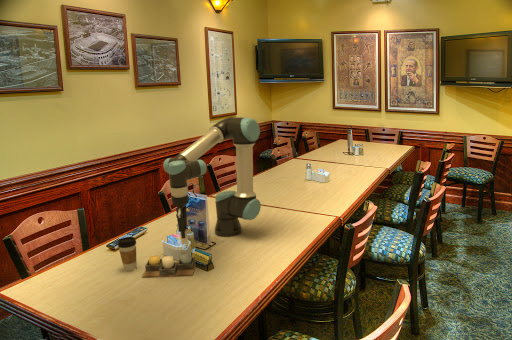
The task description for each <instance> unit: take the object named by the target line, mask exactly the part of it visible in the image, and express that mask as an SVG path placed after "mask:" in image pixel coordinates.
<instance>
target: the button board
mask: <svg viewBox="0 0 512 340" xmlns="http://www.w3.org/2000/svg"><path fill="white" fill-rule="evenodd" d="M191 259H192V264H181V257H180V258H179V260H178V262H174V267H172V268H170V269H165V268H163V263H162V258H160V265H149V259H147V262H146V264H145V265H144V268H145V269H144V270H145V271H144V272H143V274H142V276H141V278H142V279H150V278H152V279H153V278H173V277H174V278H176V277H193V275H194V273H195V270H196V267H197V264H195V262H196V257H195V256H194V257H192V256H191Z"/></svg>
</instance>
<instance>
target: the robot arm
mask: <svg viewBox="0 0 512 340" xmlns="http://www.w3.org/2000/svg"><path fill="white" fill-rule="evenodd" d="M260 135H261V128H260V125H259V123H258V122H257V120H256V119H254V118H250V117H241V116H240V117H236V116H229V117H225V118H223V119H220V120H219V121H218V122H216V123H215V124H213V125H212V126H211V127H210V128H209V129H208V131H207V132H206V133H205V134H203V135H202V136H201V137H200V138H198V139H197V140H195V141H194V142H193V143H192V144H191V145H189V146H187V148H185V149H184V150H183V151H181V152H180V153H179V154H177V155H176V156H175V157H169V158H166V159H165V160H164V161H163V166H162V167H163V170H164V171H165V173H167V174H168V178H169V185H170V188H169V191H170V192H171V193H170V194H171V204H172V205H173V206H176V209H175V212H176V214H175V217H176V219H177V220H176V221H177V226H178V230H177V231H178V233H180V234H179V235H180V243H181V245H188V242H189V240H188V230H189V227H188V221H187V219H188V217H187V215H188V214H187V205H188V204H189V202H190V201H189V200H190V199H189V195H188V194H189V188H188V181H189V180H191V179H194V178H197V177H198V178H199V177H201V176H203V175H206V173H207V164H206V161H204V160H202V159H199V158H201V157H202V156H203V155H205V153H207V152H208V151H209V150H211V149H212V148H213V147H214V146H215V145H217V144H218V143H219V144H220V143H221V144H222V142H224V141H226V140H232V145H233V146H234V147H235V153H236V155H235V156H236V157H235V159H236V162H235V163H236V191H235V190H225V191H222V192H221V191H220V192H219V193H217V194H216V195H215V209H216V222H215V226H214V234H215V235H216V236H219V237H228V238H229V237H234V236H237V235H240V234H241V233H242V231H243V228H242V225H241V222H240V220H239V219H243V220H247V221H252V220H255V219H256V218H257V217H258V215H259V214H260V212H261V207H262V206H261V205H262V204H261V201H260V200H259V199H258V198H257V193H256V192H255V191H254V162H253V161H254V160H253V155H254V154H253V152H254V151H253V148H254V145H256V141H258V140H259V138H260V137H259V136H260Z"/></svg>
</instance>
